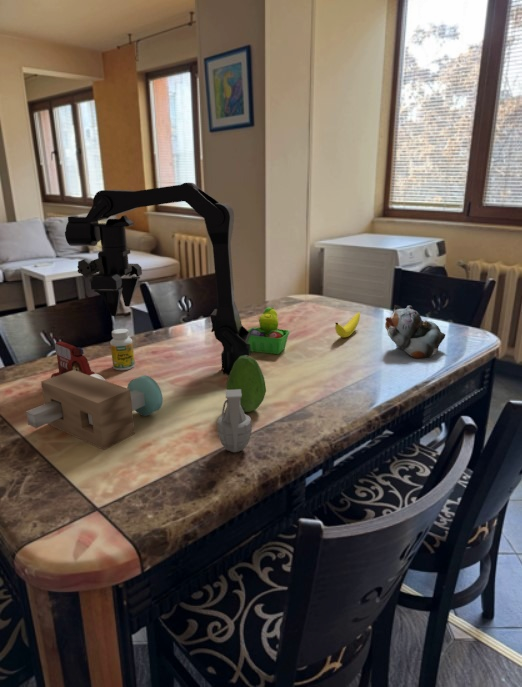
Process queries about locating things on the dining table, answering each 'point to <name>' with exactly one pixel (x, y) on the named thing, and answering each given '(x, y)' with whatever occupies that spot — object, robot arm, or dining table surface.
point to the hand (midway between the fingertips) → (120, 311)
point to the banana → (348, 327)
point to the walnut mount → (85, 408)
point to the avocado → (247, 382)
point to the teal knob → (143, 396)
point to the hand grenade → (234, 423)
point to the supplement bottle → (122, 350)
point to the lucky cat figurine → (413, 333)
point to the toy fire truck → (71, 359)
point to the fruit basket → (268, 334)
